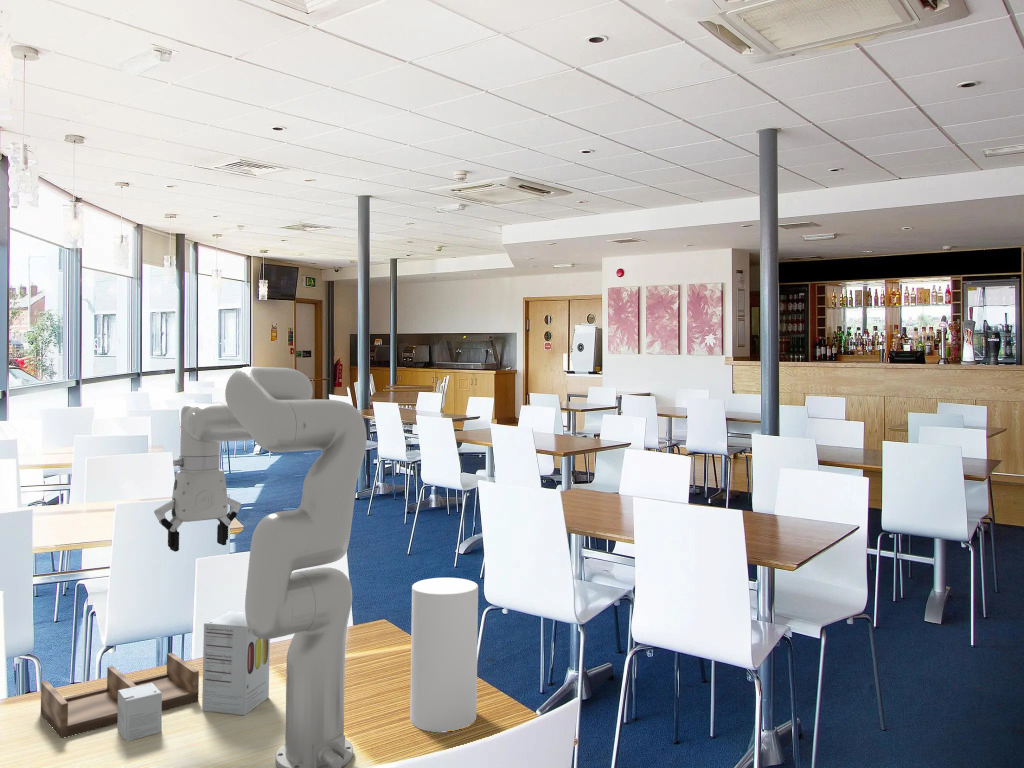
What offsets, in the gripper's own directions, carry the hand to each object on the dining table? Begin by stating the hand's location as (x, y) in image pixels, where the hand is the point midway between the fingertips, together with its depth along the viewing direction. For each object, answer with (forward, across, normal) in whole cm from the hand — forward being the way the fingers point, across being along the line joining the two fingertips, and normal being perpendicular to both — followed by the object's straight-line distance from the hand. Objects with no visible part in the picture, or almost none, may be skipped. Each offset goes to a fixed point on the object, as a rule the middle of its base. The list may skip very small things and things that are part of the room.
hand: (198, 547), depth 159 cm
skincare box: (+29, -15, -14) cm, 36 cm away
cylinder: (+29, +29, -45) cm, 61 cm away
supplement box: (+29, +3, -13) cm, 32 cm away
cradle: (+29, -14, -1) cm, 32 cm away
